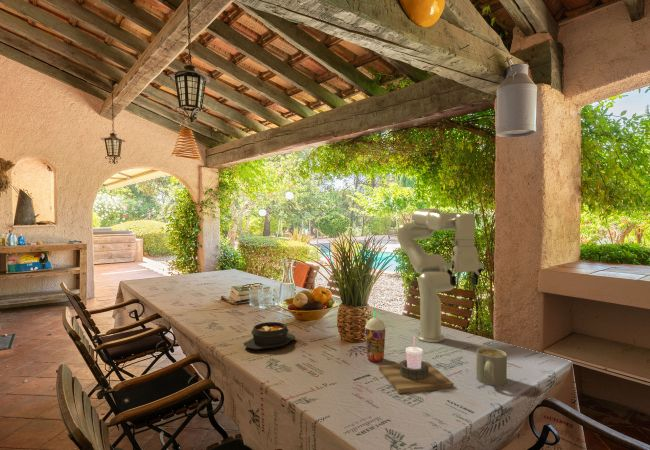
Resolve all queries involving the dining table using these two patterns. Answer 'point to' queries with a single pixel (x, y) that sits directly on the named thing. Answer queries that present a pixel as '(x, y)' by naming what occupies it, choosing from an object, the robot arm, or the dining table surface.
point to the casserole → (269, 336)
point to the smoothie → (375, 339)
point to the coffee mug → (491, 366)
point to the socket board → (414, 384)
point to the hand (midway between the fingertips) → (464, 284)
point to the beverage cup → (414, 357)
